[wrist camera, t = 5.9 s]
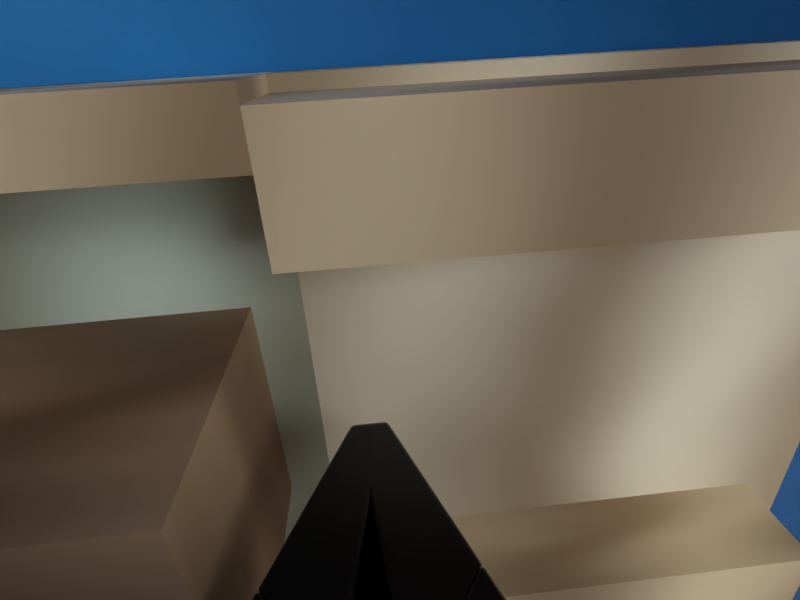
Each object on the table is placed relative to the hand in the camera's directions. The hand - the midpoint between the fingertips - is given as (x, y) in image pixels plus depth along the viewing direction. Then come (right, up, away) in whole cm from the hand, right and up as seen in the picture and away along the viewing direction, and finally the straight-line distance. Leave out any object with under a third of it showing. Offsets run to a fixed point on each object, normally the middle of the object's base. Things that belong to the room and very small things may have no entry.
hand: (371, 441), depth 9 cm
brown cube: (-4, 0, +1) cm, 4 cm away
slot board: (-2, +1, +2) cm, 3 cm away
